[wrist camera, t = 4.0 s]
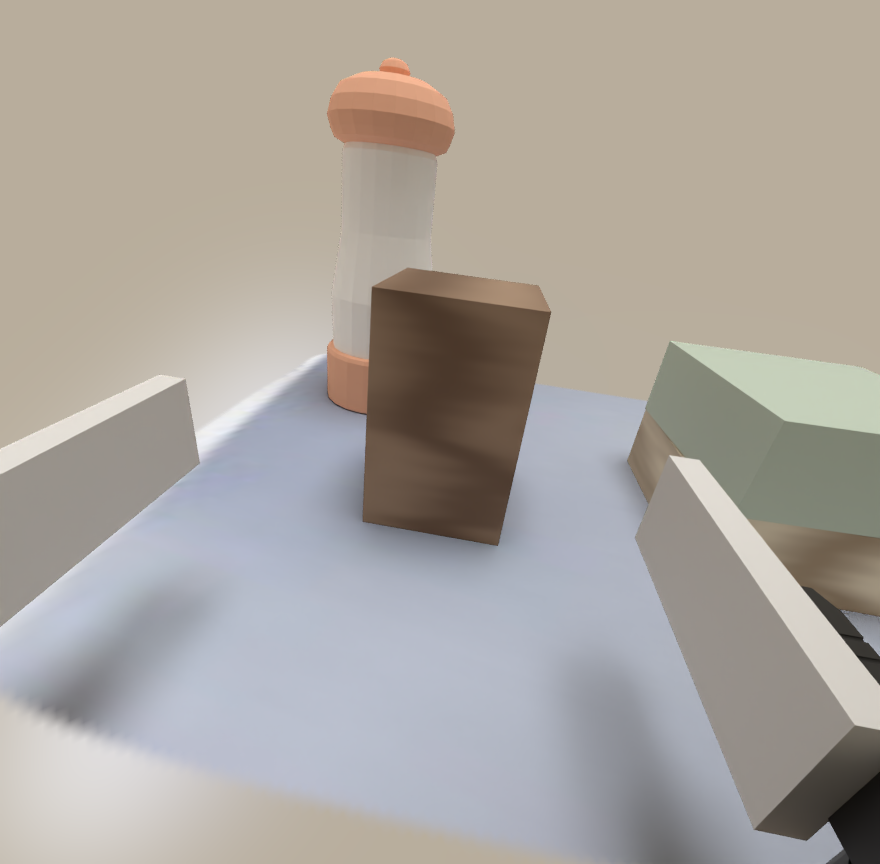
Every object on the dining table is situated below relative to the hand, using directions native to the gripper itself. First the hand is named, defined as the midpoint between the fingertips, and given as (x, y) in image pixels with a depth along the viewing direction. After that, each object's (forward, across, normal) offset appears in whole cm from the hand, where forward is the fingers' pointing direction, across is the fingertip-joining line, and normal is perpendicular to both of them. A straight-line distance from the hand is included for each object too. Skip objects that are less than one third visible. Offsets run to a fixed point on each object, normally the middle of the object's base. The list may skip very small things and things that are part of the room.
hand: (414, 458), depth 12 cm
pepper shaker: (+18, -6, -7) cm, 20 cm away
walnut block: (+8, 0, -6) cm, 10 cm away
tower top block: (+9, +16, -3) cm, 19 cm away
